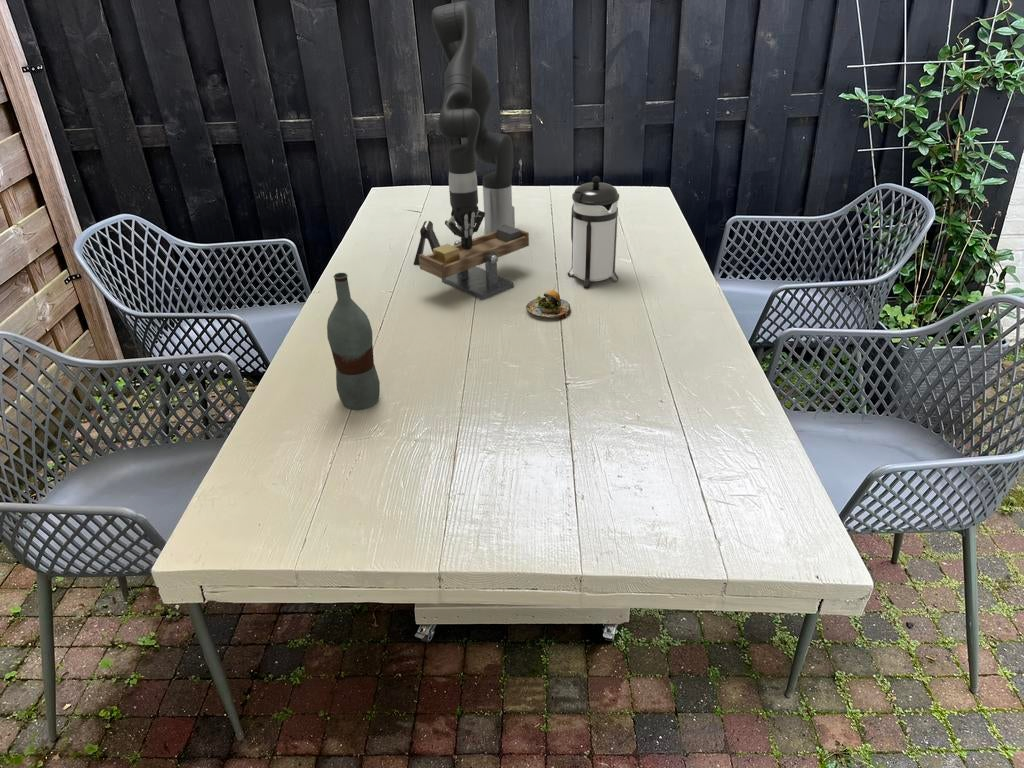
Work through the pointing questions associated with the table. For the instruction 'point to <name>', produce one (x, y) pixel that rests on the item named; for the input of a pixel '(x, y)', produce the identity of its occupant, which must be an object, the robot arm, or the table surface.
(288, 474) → the table surface
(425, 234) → the phone stand
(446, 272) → the beam
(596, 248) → the coffee press
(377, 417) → the table surface
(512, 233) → the block
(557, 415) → the table surface
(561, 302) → the burger
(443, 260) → the brass block
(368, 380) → the bottle
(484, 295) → the pivot stand
